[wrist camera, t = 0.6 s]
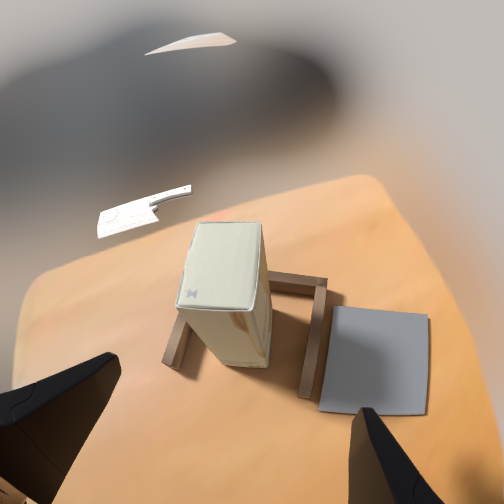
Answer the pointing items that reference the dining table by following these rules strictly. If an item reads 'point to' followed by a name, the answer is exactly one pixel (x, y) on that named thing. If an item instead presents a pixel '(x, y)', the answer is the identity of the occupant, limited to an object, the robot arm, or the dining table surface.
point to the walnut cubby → (276, 283)
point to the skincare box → (228, 292)
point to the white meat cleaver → (136, 212)
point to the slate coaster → (376, 362)
